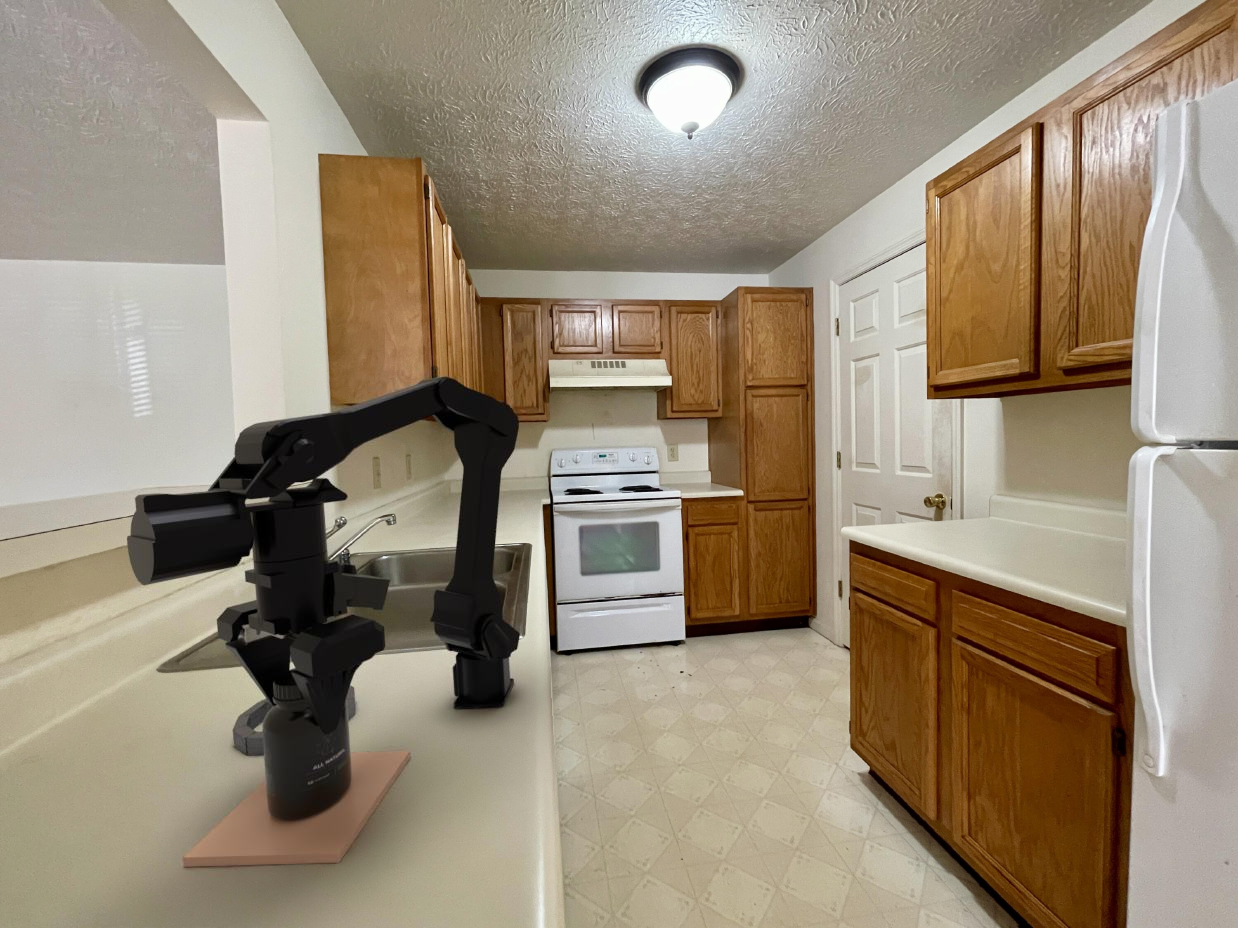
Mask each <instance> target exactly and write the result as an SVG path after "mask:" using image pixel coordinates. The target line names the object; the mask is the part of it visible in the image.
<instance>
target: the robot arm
mask: <svg viewBox="0 0 1238 928" xmlns="http://www.w3.org/2000/svg"><path fill="white" fill-rule="evenodd" d="M429 417H433V418H434V419H435V420H436V422H437V423H438V424H439V425H440V426H441V427H443V428H444V429H446V430H448V431H450V432H452V433H453V437H454V438H453V439H454V440H453V441H454V448H455V451H456V453H457V454H458V458H459V460H460V462H461V463H462V468H463V469H462V482H461V483H462V484H461V491H460V492H461V493H460V503H459V512H458V513H459V514H458V523H457V535H456V536H457V537H456V544H455V545H456V547H455V556H454V565H453V566H454V568H453V569H454V570H453V575H452V578H451V579H450V580H449V582H448V584H447V585H446V587H445V589H435V591H434V595H433V611H432V615H431V617H430V622H431V623H434V625H433V627H434V628H433V629H434V630H433V631H434V633H435V635H436V636H437V637H438V638H439V639H440V641H441V642H443V643H444V645H445V648H446V651H449V652H454V653H456V655H455V663H454V665H453V666H452V677H453V678H452V679H453V683H452V684H453V695H454V696H455V697H456V698H455V700H454V702H453V708H454V709H463V708H465V709H469V708H471V709H472V708H473V709H474V708H491V707H492V708H498V707H499V708H500V707H502V706H504V705H505V703H506V701H507V699H508V696H509V694H510V692H511V690H512V688H513V685H514V684H515V679H514V678H511V671H510V670H511V667H510V657H511V656H512V655H511V654H512V653H513V652H516V651H517V650H518V648H519V642H520V636H521V633H520V632H519V631H518V630H517V629H516V628H514V627H513V626H512V625H510V624H509V623H508V622H506V621H505V619H504V611H503V599H502V596H501V594H500V592H499V591H500V590H499V589H498V587H497V584H496V582H495V580H494V576H493V575H494V563H495V553H496V552H495V551H496V539H497V527H498V517H499V515H498V514H499V506H500V505H499V504H500V492H501V482H502V480H501V479H502V471H503V468H504V467H505V465H506V464H507V462H508V461H509V459H510V458H511V456H512V455H513V453H514V451H515V448H516V443H517V439H518V433H519V430H520V429H519V428H520V425H519V424H520V421H519V416H518V415H517V414H516V413H515V411H514V409H513V408H512V407H511V406H510V404H508V403H506V402H505V401H504V402H503V401H499V400H498V399H496V398H494V397H493V396H491V395H487V394H485V393H482V392H480V391H479V390H478V391H477V390H475V389H472V388H469V387H467V386H466V385H464V384H463V383H461V382H459V381H458V380H457V379H455V378H452V377H450V376H440V377H438V376H437V377H433V378H427V379H422V380H420V381H419V382H418V383H416V384H413V385H410V386H408V387H404V388H400V389H398V390H396V391H393V392H389V393H387V394H384V395H380V396H377V397H374V398H371V399H369V400H366V401H362V402H360V403H357V404H354V405H350V406H347V407H344V408H341V409H338V410H336V411H332V412H327V413H325V412H324V413H319V414H311V415H304V416H297V417H290V418H283V419H277V420H269V421H263V422H256V423H253V424H252V425H250V426H247V427H245V428H243V429H242V431H241V432H239V435H238V437H237V440H236V442H235V444H234V457H233V458H232V459H231V461H229V463H228V464H227V466H226V467H225V468H224V469H223V470H222V471H221V472H220V474H219V476H218V477H217V478H216V479H215V481H214V482H213V483H212V485H210V487H209V488H208V490H206V491H196V492H194V491H193V492H185V493H175V494H173V493H160V492H159V493H146V494H137V495H136V497H134V501H135V503H134V504H135V511H134V513H133V515H132V518H131V522H130V535H127V536H126V542H127V543H126V546H127V553H128V559H129V562H130V566H131V568H132V571H133V574H134V576H135V577H136V579H137V581H138V583H140V584H141V585H143V586H147V585H152V584H157V583H164V582H168V581H173V580H177V579H181V578H187V577H191V576H197V575H201V574H207V573H212V572H217V571H222V570H226V569H230V568H231V569H232V568H235V567H238V566H239V564H240V563H241V562H242V561H241V560H242V559H243V558H245V557H249V556H250V554H251V550H252V560H253V568H251V569H247V570H244V578H245V579H244V580H245V583H249V584H252V585H254V587H255V599H253V600H252V601H251V600H249V601H246V602H243V603H238V604H234V605H232V606H228V607H226V609H224V610H223V612H222V613H221V614H220V615H219V617H218V618H216V627H217V628H216V629H217V637H218V639H220V640H223V641H225V643H224V644H225V647H226V649H228V650H229V651H230V653H231V654H233V656H234V657H235V658H236V660H237V661H238V662H239V664H240V665H241V666H242V668H243V669H244V671H245V672H246V673H247V674H248V675H249V676H250V678H251V679H252V681H253V682H254V683H255V685H256V687H257V688H258V689H259V690H260V692H261V693H262V694H263V696H264V697H265V699H267V700H268V701H269V703H270V704H271V705H272V707H273V706H275V705H276V704H275V703H274V702H273V694H274V689H273V682H274V680H275V679H276V677H278V676H279V675H281V674H282V673H284V672H286V671H288V670H291V669H290V668H291V662H292V664H293V666H294V668H296V670H294V671H292V675H293V677H294V679H295V681H296V683H297V685H298V687H299V689H300V691H301V692H302V694H303V696H304V698H305V700H306V702H307V704H308V706H309V708H310V710H311V712H312V714H313V716H314V718H315V720H316V722H317V723H318V725H319V727H320V729H321V730H322V732H323V733H324V734H329V733H331V732H333V731H335V730H336V729H337V728H338V725H339V722H340V718H341V715H342V711H343V708H344V704H345V701H346V697H347V694H348V690H349V687H350V686H351V683H352V681H353V678H354V676H355V673H356V671H357V670H358V669H359V668H360V667H361V666H362V665H363V663H364V662H367V661H369V660H371V659H374V657H375V655H376V654H378V653H380V652H383V651H384V650H385V648H386V636H385V626H384V625H382V624H380V623H379V622H377V621H376V620H374V619H370V618H367V617H363V616H360V615H356V614H350V615H347V616H344V617H341V618H338V617H339V616H342V615H346V614H348V608H367V609H368V608H370V609H372V610H374V611H383V610H384V607H385V604H386V603H385V602H386V600H387V599H386V598H387V595H388V591H389V588H390V587H389V586H390V582H391V579H390V578H389V579H388V578H386V577H378V576H373V575H366V574H362V573H361V574H360V573H357V572H358V571H357V567H356V565H355V564H351V563H346V562H345V563H344V562H339V561H338V560H333V559H329V557H328V556H329V555H328V554H329V552H328V543H327V541H328V540H327V528H326V527H327V526H326V515H325V514H326V512H325V504H327V503H336V502H337V503H338V502H343V501H346V500H347V499H348V493H346V492H344V491H343V490H341V489H340V488H339V487H337V486H335V485H334V484H333V483H332V482H331V480H330V479H329V478H327V477H326V478H325V477H321V476H322V475H323V474H325V473H327V472H328V471H330V470H331V469H333V468H334V467H336V466H338V465H339V464H340V463H342V462H343V461H345V460H346V459H347V458H348V457H349V456H350V455H351V454H352V452H354V451H355V450H356V449H358V448H359V447H361V446H363V445H364V444H365V443H368V442H370V441H372V440H376V439H378V438H380V437H383V436H385V435H388V434H391V433H393V432H395V431H397V430H400V429H403V428H405V427H407V426H410V425H412V424H415V423H417V422H420V421H422V420H424V419H427V418H429ZM310 481H311V482H310ZM306 482H310V483H309V484H308V485H307V486H304V487H293V488H292V487H291V486H293V485H294V484H295V483H306ZM267 498H268V500H266V501H260V502H259V501H258V502H253V503H246V501H247V500H258V499H267ZM332 617H334V618H336V617H337V618H338V619H335V620H332V621H328V619H329V618H332Z"/></svg>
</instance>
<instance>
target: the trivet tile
mask: <svg viewBox="0 0 1238 928" xmlns="http://www.w3.org/2000/svg"><path fill="white" fill-rule="evenodd" d="M350 754H351V774H352V777H351V783H350V786H349V788H348V790H347V791H346V793H345V794H344V795H343V796H342V797H341V798H340V799H339V800H338V801H337V802H336V803H335V804H333V805H332V806H330V807H329V808H327V809H325V810H324V811H322V812H320V813H318V814H315V815H313V816H310V817H307V818H304V819H300V820H294V821H283V820H279V819H276V818H274V817H273V816H272V815H271V814H270V813H269V810H268V804H267V791H266V779H264V780H263V782H261V783H260V784H259V785H258V786H257V787H256V788H255V789H254V790H253V791H252V792H251V793H250V794H249V795H248V796H246V797H245V798H244V799H243V800H242V801H241V802H240V803H239V804H238V805H237V806H236V807H235V808H234V809H233V810H232V811H231V812H229V813H228V815H226V816H225V817H224V818H223V819H222V820H220V822H218V823H217V824H216V825H215V826H214V827H213V829H211V830H210V831H209V832H208V833H206V835H205V836H204V837H203V838H202V839H201V840H200V841H199V842H198V843H197V844H196V845H195V846H193V847H192V848H191V849H190V850H189V851H188V852H187V853H186V854H185V855H184V856H182V863H183V867H185V868H187V867H191V868H192V867H220V866H221V867H225V866H226V867H227V866H229V867H230V866H262V865H297V864H299V865H301V864H303V865H304V864H331V863H332V864H333V863H337V864H338V863H340V862H341V860H342V859H343V858H344V856H345V855H346V853H347V852H348V850H349V848H350V847H352V844H353V843H354V841H355V840H356V838H357V837H358V835H359V834H360V833H361V831H362V830H363V828H364V827H365V825H366V824H367V823H368V821H369V820H370V819H371V816H372V815H373V813H374V812H375V811H376V810H377V808H378V807H379V804H380V803H381V801H382V800H383V799H384V797H385V796H386V794H387V793H388V791H389V790H390V789H391V787H392V786H393V784H394V783H395V781H396V779H397V778H398V777H399V776H400V774H401V773H402V771H403V770H404V768H405V767H406V765H407V764H408V762H409V761H410V759H411V751H410V750H393V751H392V750H390V751H385V750H384V751H359V752H358V751H357V752H356V751H354V752H350Z"/></svg>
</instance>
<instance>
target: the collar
mask: <svg viewBox="0 0 1238 928" xmlns="http://www.w3.org/2000/svg"><path fill="white" fill-rule="evenodd" d="M355 691H356V690H355V687H354V686H352V685H350V687H349V690H348V694H347V697H346V699H347V705H348V721H350V720H351V719H352V717H353V716H354V715H355V714H356V696H355V695H356V694H355ZM271 708H272V705H271V704H270V703H269V701H268V700H267V699H266V698H264V699H262V700H260V701H258V702H256V703H255V704H254V705H252V706H251V707H249V708H248V709H247V710H244V712H242V713H240V714H239V716H237V719H236V720H235V723H234V726H233V728H232V739H233V747H234V748H235V749H236V750H237V751H239V752H241V753H242V754H244V755H245V756H264V746H263V731H256V730H255V728H256V727H258V726H259V725H260V724H261V723H263V721H264V718H265V716H266V715H267V713H268V712H269V710H270V709H271Z"/></svg>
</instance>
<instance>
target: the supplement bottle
mask: <svg viewBox="0 0 1238 928" xmlns="http://www.w3.org/2000/svg"><path fill="white" fill-rule="evenodd" d="M294 670H296V668H295V667H294V668H291V669H290V670H288V671H286V672H284V673H282V674H281V675H279V676H278V677H276V679H275V680H274V682H273V689H274V694H273V702H274V703H275V704H276V705H275V706H273V707H272V708H271V709H270V710H269V712H268V713H267V715H266V716H265V718H264V721H263V722H262V725H261V727H262V731H263V746H264V755H263V756H264V757H263V758H264V759H263V760H264V770H265V772H264V774H265V776H264V777H265V780H266V791H267V804H268V810H269V813H270V814H271V815H272V816H273V817H274V818H276V819H279V820H283V821H294V820H300V819H304V818H307V817H310V816H313V815H315V814H318V813H320V812H322V811H324V810H325V809H327V808H329V807H330V806H332V805H333V804H335V803H336V802H337V801H338V800H339V799H340V798H341V797H342V796H343V795H344V794H345V793H346V791H347V790H348V788H349V786H350V783H351V777H352V774H351V754H350V753H351V742H350V725H349V724H350V723H349V721H350V720H348V705H347V699H346V701H345V704H344V708H343V711H342V715H341V718H340V722H339V725H338V728H337V729H336V730H335V731H333V732H331V733H329V734H324V733H323V732H322V730H321V729H320V727H319V725H318V723H317V722H316V720H315V718H314V716H313V714H312V712H311V710H310V708H309V706H308V704H307V702H306V700H305V698H304V696H303V694H302V692H301V691H300V689H299V687H298V685H297V683H296V681H295V679H294V677H293V675H292V671H294Z"/></svg>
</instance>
